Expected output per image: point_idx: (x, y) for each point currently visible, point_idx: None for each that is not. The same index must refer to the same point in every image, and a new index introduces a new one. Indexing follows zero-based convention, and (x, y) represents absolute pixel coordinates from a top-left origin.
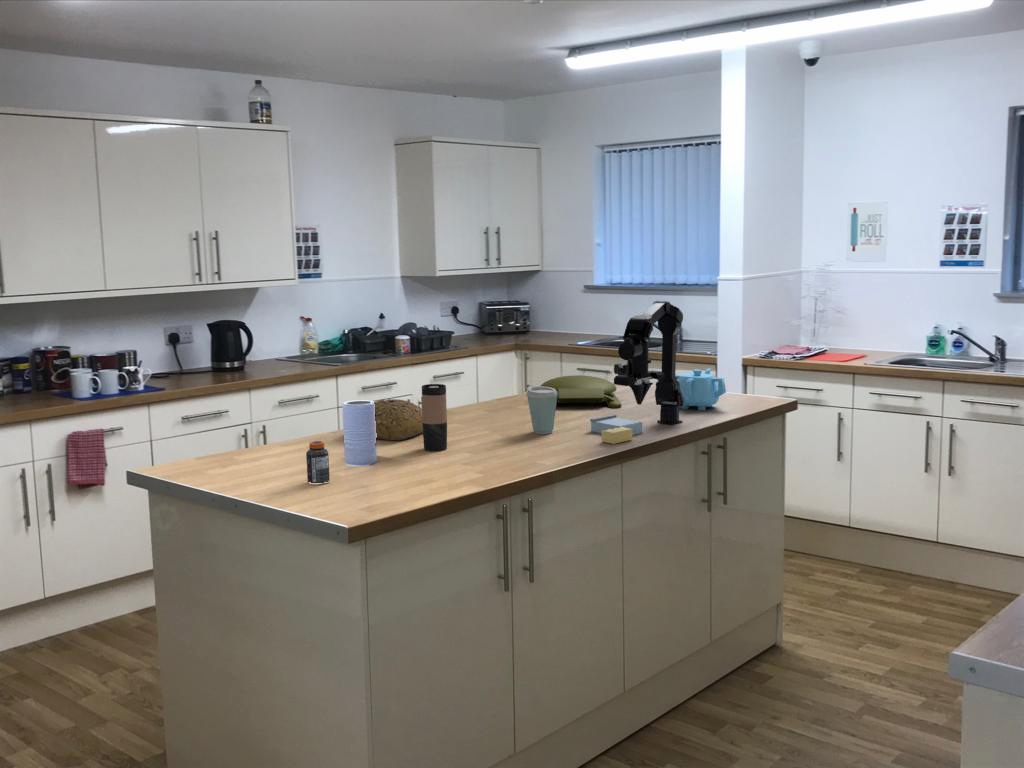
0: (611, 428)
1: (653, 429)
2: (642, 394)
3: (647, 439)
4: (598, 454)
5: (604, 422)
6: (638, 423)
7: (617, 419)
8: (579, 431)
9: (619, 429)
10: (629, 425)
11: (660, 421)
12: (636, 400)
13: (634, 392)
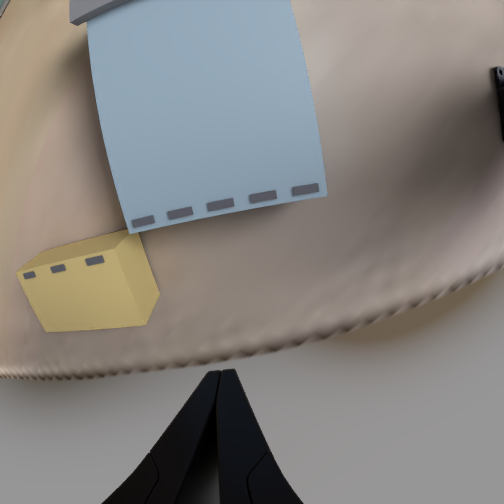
0: (53, 268)
1: (411, 151)
2: (219, 500)
3: (232, 311)
4: (19, 357)
5: (110, 62)
6: (287, 201)
7: (250, 13)
8: None
9: (83, 300)
10: (195, 219)
11: (499, 89)
12: (191, 403)
13: (144, 483)
